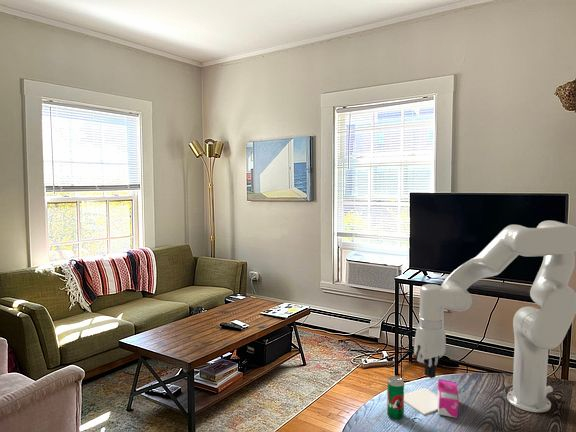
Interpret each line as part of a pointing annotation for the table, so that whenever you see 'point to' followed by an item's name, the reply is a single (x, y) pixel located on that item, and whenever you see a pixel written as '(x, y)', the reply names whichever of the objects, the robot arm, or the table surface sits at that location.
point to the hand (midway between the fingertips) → (429, 376)
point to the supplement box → (447, 398)
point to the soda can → (395, 398)
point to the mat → (422, 401)
